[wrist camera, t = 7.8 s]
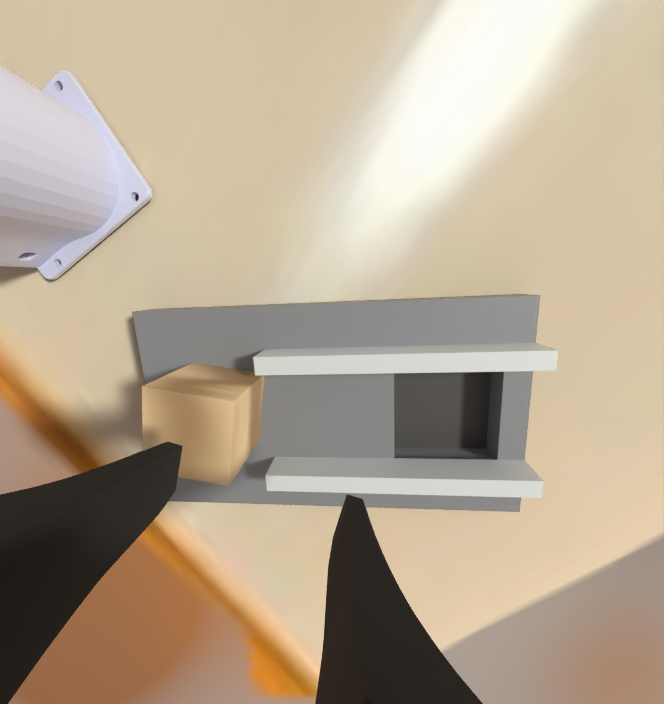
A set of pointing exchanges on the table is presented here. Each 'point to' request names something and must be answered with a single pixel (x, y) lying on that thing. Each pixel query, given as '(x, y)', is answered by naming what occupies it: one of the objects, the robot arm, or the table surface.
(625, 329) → the table surface
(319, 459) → the rail jig base
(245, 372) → the block
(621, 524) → the table surface
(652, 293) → the table surface
